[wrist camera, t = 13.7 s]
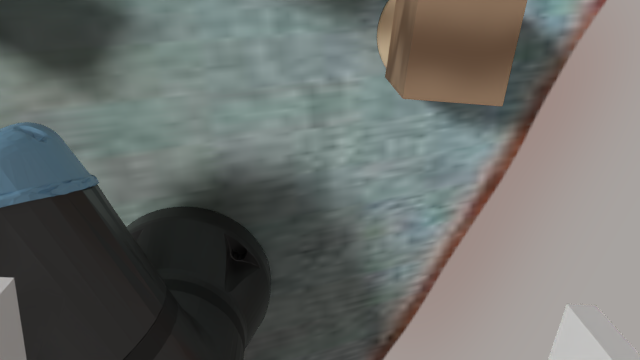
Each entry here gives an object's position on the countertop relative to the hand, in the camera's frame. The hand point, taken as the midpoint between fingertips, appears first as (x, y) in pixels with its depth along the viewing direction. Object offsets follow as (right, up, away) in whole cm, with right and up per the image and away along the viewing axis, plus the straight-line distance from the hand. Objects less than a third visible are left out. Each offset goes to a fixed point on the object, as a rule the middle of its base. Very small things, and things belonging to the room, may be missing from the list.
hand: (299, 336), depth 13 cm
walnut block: (+9, +15, +28) cm, 33 cm away
